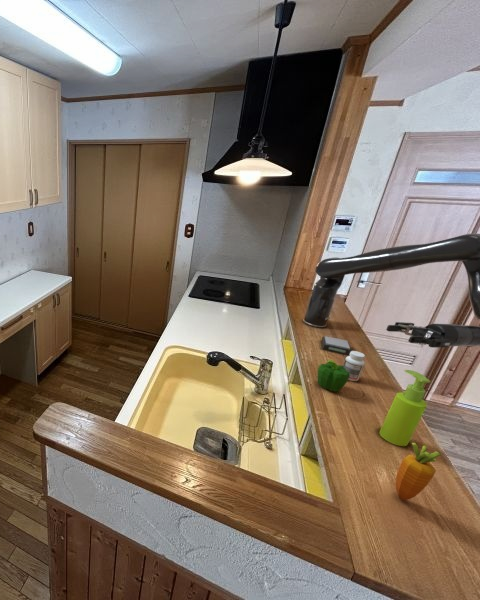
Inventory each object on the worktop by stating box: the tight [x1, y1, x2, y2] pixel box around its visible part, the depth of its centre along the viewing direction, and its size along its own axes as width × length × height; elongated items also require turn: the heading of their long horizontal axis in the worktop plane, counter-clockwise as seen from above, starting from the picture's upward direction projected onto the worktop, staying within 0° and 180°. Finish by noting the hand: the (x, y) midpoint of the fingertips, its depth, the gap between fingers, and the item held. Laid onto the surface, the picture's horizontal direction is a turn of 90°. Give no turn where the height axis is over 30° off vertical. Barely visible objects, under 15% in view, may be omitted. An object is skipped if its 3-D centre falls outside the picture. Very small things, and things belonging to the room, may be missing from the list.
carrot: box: [395, 442, 441, 501], centre depth 69 cm, size 5×5×15 cm
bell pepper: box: [316, 359, 350, 392], centre depth 109 cm, size 8×8×10 cm
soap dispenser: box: [379, 369, 431, 447], centre depth 86 cm, size 6×7×20 cm
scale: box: [320, 335, 352, 356], centre depth 136 cm, size 9×9×3 cm
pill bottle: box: [342, 350, 366, 382], centre depth 115 cm, size 5×5×10 cm
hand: (398, 333), depth 110 cm, fingers open, 8 cm apart
